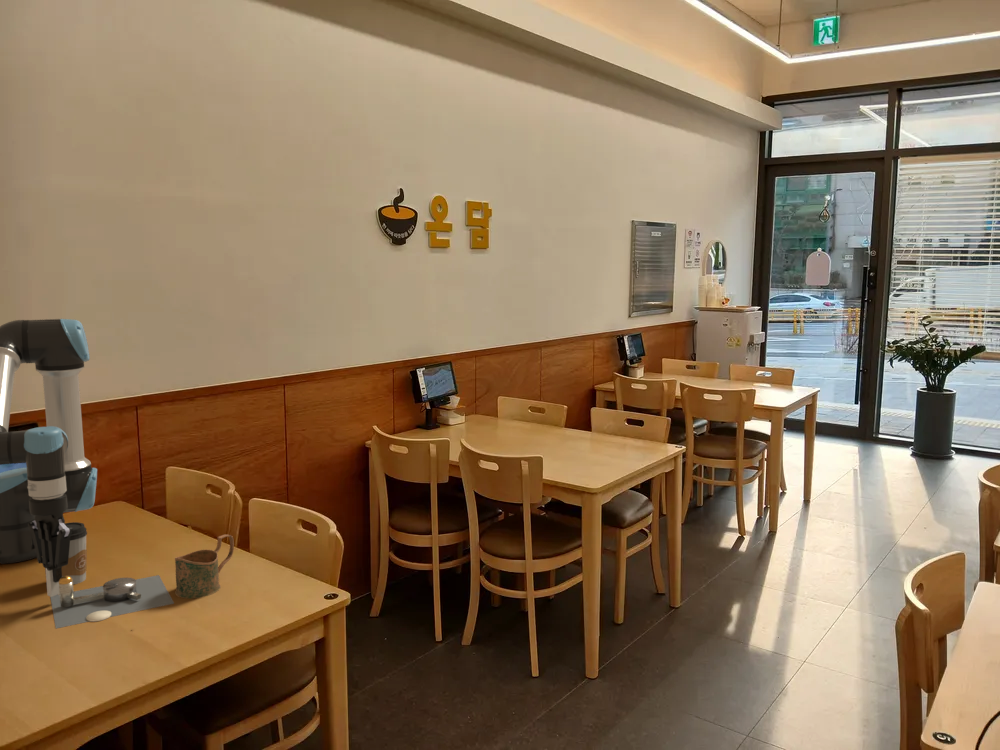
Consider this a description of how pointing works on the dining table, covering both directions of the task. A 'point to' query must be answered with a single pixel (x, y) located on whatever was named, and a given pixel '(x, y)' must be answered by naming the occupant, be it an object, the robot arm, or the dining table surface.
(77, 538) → the coffee cup
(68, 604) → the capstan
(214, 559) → the mug
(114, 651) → the dining table surface
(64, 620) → the stand plate
